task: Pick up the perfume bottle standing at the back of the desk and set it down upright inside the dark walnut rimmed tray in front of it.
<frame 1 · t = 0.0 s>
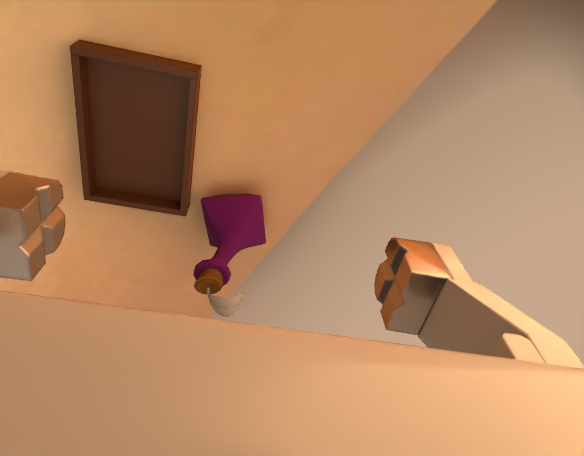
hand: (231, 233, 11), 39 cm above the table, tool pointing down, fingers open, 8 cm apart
perfume bottle: (237, 206, 57), on the table
tray: (141, 132, 51), on the table
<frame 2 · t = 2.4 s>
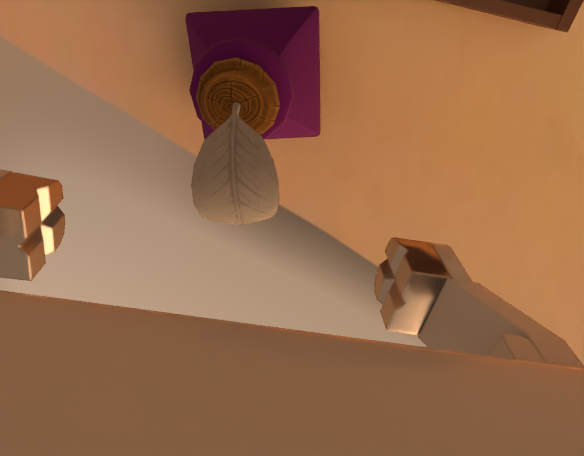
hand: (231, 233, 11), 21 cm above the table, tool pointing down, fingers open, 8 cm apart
perfume bottle: (259, 67, 29), on the table
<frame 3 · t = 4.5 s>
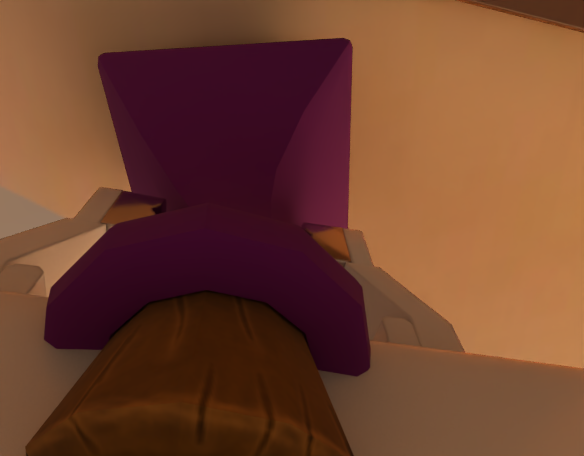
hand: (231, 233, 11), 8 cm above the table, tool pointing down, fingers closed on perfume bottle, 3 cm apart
perfume bottle: (241, 131, 17), on the table, touching gripper
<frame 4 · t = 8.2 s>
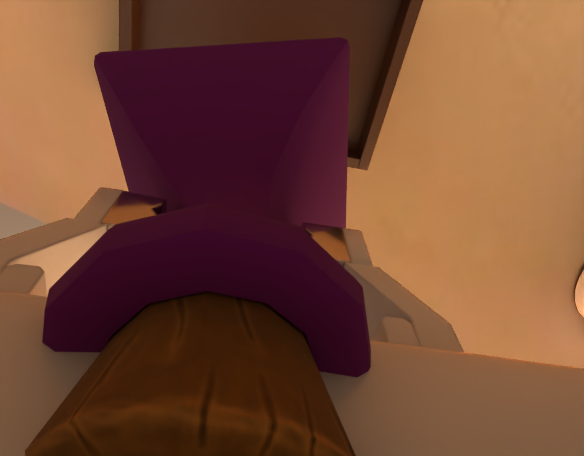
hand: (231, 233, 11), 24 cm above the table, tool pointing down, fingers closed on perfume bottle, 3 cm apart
perfume bottle: (238, 130, 17), point 16 cm above the table, touching gripper
tray: (263, 53, 31), on the table
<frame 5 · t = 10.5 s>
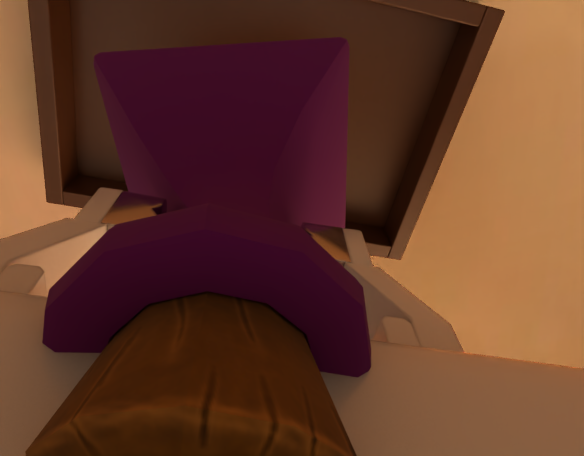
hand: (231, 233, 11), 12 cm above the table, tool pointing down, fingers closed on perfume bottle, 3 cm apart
perfume bottle: (238, 130, 17), point 5 cm above the table, touching gripper
tray: (255, 101, 21), on the table
when the fingers open (8 cm above the table, at t = 12.0 s): perfume bottle stays where it is, resting on tray.
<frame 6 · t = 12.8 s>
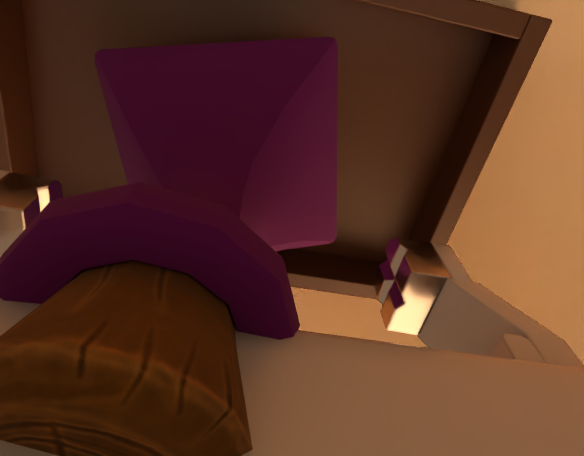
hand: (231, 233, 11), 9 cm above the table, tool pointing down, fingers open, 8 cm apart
perfume bottle: (237, 127, 18), resting on tray
tray: (248, 125, 18), on the table
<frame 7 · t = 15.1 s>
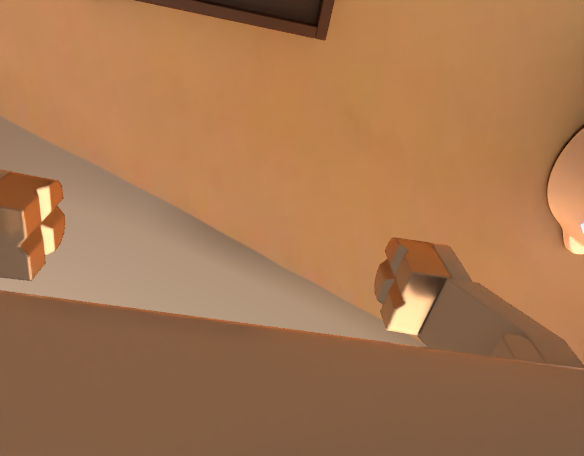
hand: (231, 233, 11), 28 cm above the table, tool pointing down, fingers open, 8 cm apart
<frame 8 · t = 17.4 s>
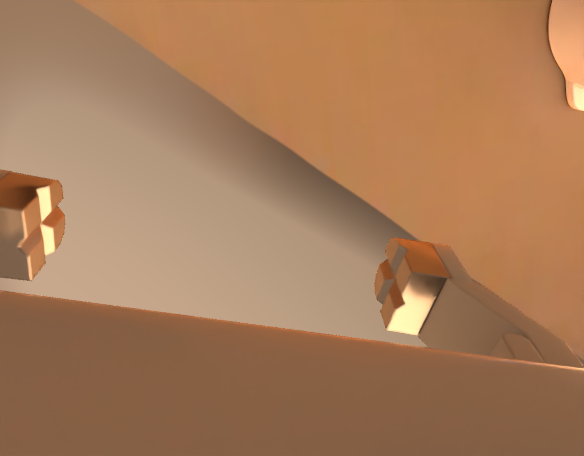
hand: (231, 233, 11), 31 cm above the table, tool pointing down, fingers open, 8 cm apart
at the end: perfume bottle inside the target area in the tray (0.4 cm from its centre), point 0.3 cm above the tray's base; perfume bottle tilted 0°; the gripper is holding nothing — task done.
